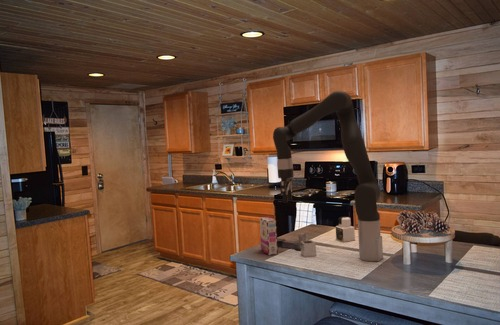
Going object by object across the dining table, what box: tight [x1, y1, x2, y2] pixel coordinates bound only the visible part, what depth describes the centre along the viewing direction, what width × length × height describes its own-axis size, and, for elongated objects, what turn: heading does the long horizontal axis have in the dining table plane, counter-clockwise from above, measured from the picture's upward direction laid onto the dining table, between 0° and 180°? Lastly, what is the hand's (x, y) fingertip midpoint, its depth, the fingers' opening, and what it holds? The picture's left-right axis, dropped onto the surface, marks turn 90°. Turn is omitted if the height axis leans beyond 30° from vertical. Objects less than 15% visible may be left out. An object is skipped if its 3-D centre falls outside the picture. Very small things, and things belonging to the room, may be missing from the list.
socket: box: [300, 239, 317, 258], centre depth 177 cm, size 6×6×6 cm
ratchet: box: [277, 232, 308, 252], centre depth 192 cm, size 22×8×8 cm, turn 55°
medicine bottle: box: [335, 216, 356, 243], centre depth 199 cm, size 7×7×12 cm
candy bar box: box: [259, 216, 279, 256], centre depth 185 cm, size 11×5×16 cm, turn 18°
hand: (287, 201), depth 186 cm, fingers open, 8 cm apart
